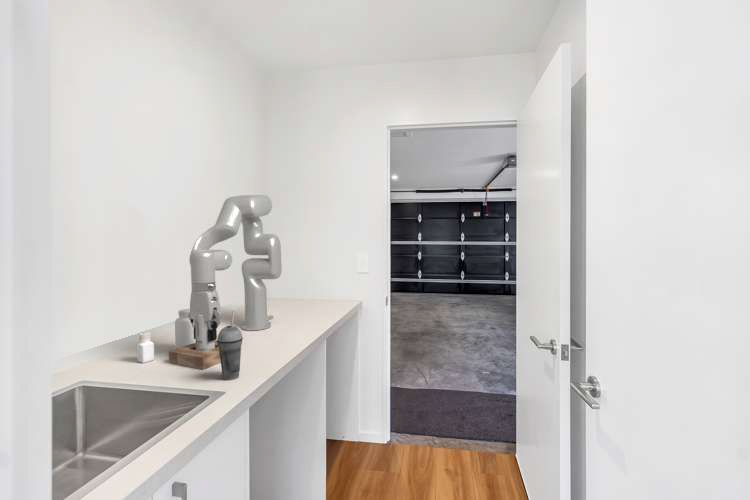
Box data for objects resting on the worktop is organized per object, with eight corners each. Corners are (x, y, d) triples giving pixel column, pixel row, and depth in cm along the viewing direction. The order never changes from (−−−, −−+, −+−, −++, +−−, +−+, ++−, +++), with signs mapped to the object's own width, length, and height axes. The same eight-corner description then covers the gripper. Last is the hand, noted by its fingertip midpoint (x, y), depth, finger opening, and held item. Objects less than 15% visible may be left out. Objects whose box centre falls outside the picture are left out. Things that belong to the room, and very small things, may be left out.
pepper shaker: (155, 360, 130) (154, 332, 130) (143, 363, 127) (142, 335, 126) (148, 358, 132) (147, 331, 132) (136, 361, 129) (135, 334, 128)
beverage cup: (217, 375, 116) (215, 310, 115) (243, 371, 119) (241, 308, 118) (218, 383, 110) (216, 315, 109) (244, 379, 112) (243, 312, 111)
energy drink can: (193, 352, 131) (191, 309, 131) (211, 348, 136) (209, 306, 135) (199, 356, 127) (198, 311, 126) (217, 351, 131) (216, 308, 131)
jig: (208, 349, 142) (208, 338, 142) (240, 354, 135) (240, 343, 135) (169, 362, 128) (168, 351, 127) (203, 369, 121) (202, 357, 121)
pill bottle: (190, 354, 136) (188, 312, 136) (170, 353, 138) (169, 312, 137) (204, 347, 144) (203, 308, 143) (185, 346, 146) (184, 307, 145)
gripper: (230, 287, 130) (232, 339, 131) (195, 284, 137) (196, 333, 138) (213, 290, 123) (214, 345, 124) (176, 287, 131) (178, 339, 131)
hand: (205, 338), depth 131 cm, fingers closed on energy drink can, 6 cm apart
